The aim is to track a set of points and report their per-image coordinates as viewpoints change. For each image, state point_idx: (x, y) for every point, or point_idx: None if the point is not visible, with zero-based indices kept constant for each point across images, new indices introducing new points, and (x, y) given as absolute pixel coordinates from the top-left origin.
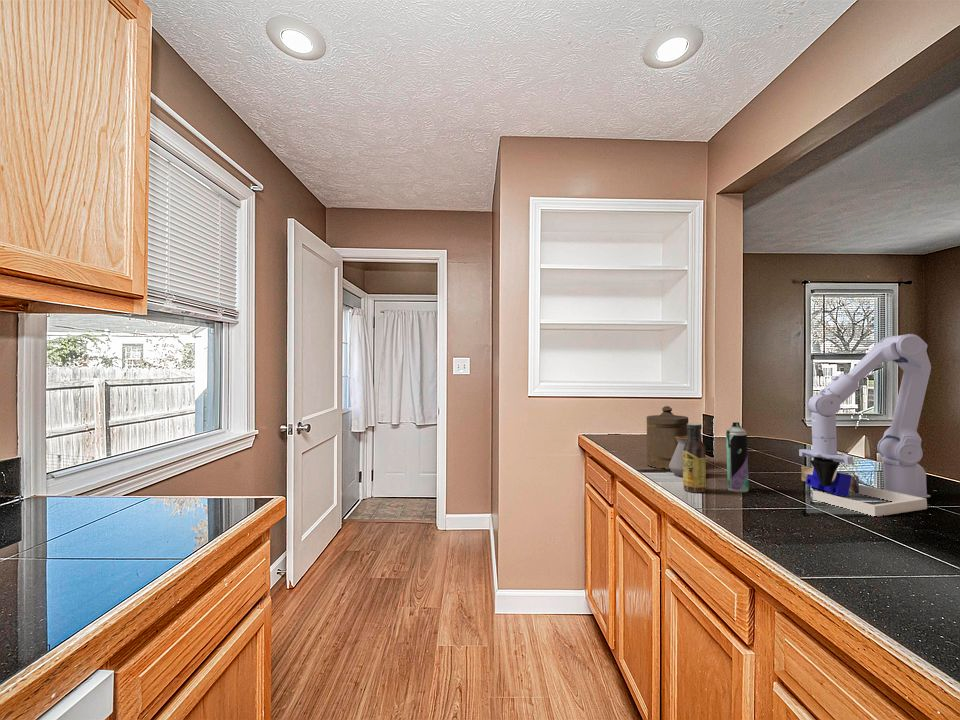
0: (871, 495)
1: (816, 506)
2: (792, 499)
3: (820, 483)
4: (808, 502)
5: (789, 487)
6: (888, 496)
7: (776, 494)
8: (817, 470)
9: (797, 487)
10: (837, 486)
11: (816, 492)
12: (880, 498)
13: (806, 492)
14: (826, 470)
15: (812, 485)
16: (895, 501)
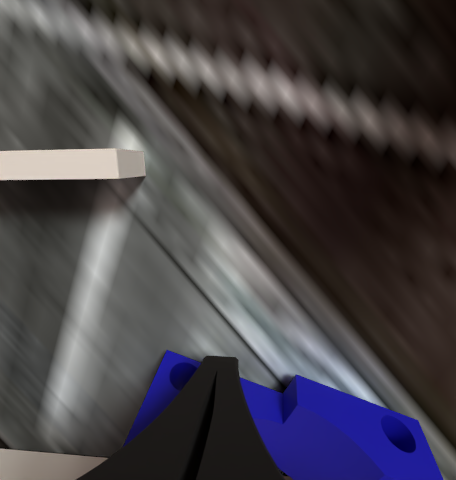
0: None
1: (29, 44)
2: (209, 45)
3: (300, 419)
4: (118, 83)
5: (449, 310)
6: (28, 473)
7: (361, 55)
8: (235, 438)
9: (421, 350)
10: (154, 395)
11: (88, 150)
12: (74, 458)
13: (306, 290)
14: (125, 450)
15: (352, 401)
16: (14, 455)
